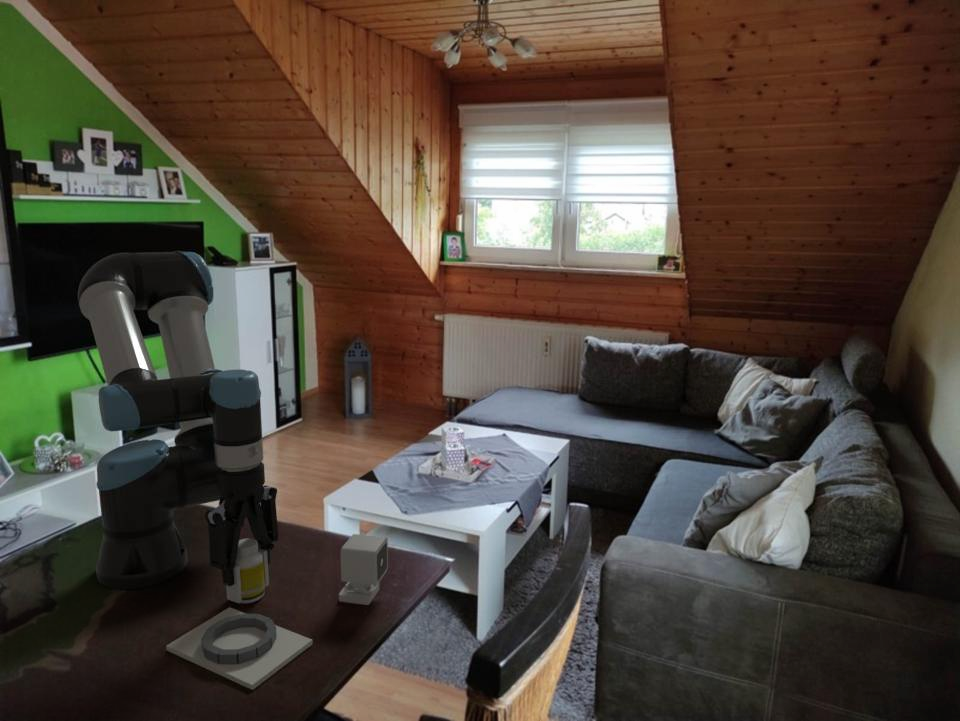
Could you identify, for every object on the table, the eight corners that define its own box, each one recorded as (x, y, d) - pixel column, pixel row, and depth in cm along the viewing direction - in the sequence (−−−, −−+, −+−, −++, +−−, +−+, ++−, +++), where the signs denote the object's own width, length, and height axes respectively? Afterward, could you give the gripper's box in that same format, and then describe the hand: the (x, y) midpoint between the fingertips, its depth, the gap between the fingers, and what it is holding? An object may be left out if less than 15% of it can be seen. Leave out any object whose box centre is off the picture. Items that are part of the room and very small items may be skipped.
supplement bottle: (271, 592, 121) (268, 540, 119) (249, 607, 116) (246, 553, 114) (248, 584, 123) (244, 533, 121) (225, 599, 118) (221, 547, 116)
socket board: (166, 650, 104) (165, 636, 104) (229, 611, 115) (228, 598, 114) (252, 690, 96) (251, 674, 95) (312, 644, 106) (311, 630, 106)
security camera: (376, 607, 116) (375, 552, 114) (337, 602, 118) (335, 548, 115) (388, 588, 122) (387, 535, 120) (351, 583, 124) (349, 531, 122)
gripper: (210, 487, 105) (220, 625, 109) (296, 451, 120) (302, 573, 125) (177, 477, 108) (188, 611, 113) (265, 444, 124) (272, 563, 129)
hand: (248, 591), depth 119 cm, fingers closed on supplement bottle, 5 cm apart
